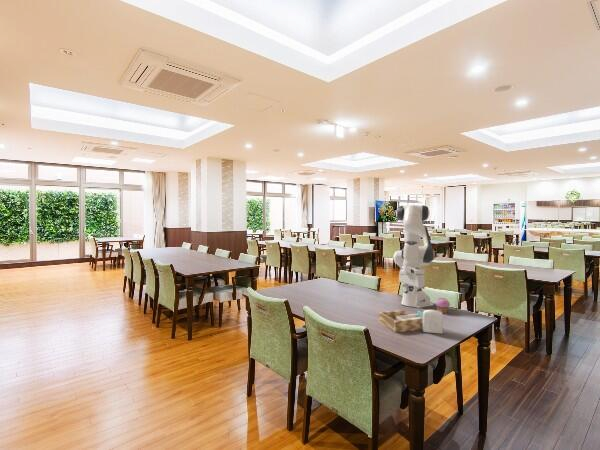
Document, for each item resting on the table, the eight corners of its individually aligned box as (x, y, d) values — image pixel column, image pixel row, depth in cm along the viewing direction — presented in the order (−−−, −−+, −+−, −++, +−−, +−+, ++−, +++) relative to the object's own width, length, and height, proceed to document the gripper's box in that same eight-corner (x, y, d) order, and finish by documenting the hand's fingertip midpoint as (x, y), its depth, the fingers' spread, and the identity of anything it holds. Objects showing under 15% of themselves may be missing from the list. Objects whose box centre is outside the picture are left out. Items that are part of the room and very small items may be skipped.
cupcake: (444, 311, 214) (444, 296, 213) (452, 314, 205) (452, 299, 205) (432, 311, 212) (432, 296, 212) (440, 315, 204) (440, 300, 203)
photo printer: (441, 331, 175) (441, 309, 174) (443, 334, 170) (443, 311, 170) (421, 330, 177) (422, 308, 177) (423, 332, 173) (423, 310, 172)
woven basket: (404, 319, 195) (404, 309, 195) (423, 329, 178) (423, 318, 178) (378, 322, 190) (378, 312, 190) (395, 332, 173) (395, 321, 173)
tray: (418, 317, 196) (418, 310, 195) (434, 324, 182) (434, 317, 182) (394, 319, 191) (394, 312, 191) (408, 327, 177) (408, 319, 177)
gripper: (396, 266, 194) (396, 288, 195) (417, 271, 175) (416, 296, 175) (405, 266, 196) (405, 288, 196) (426, 271, 176) (426, 295, 177)
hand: (410, 292), depth 185 cm, fingers open, 6 cm apart
